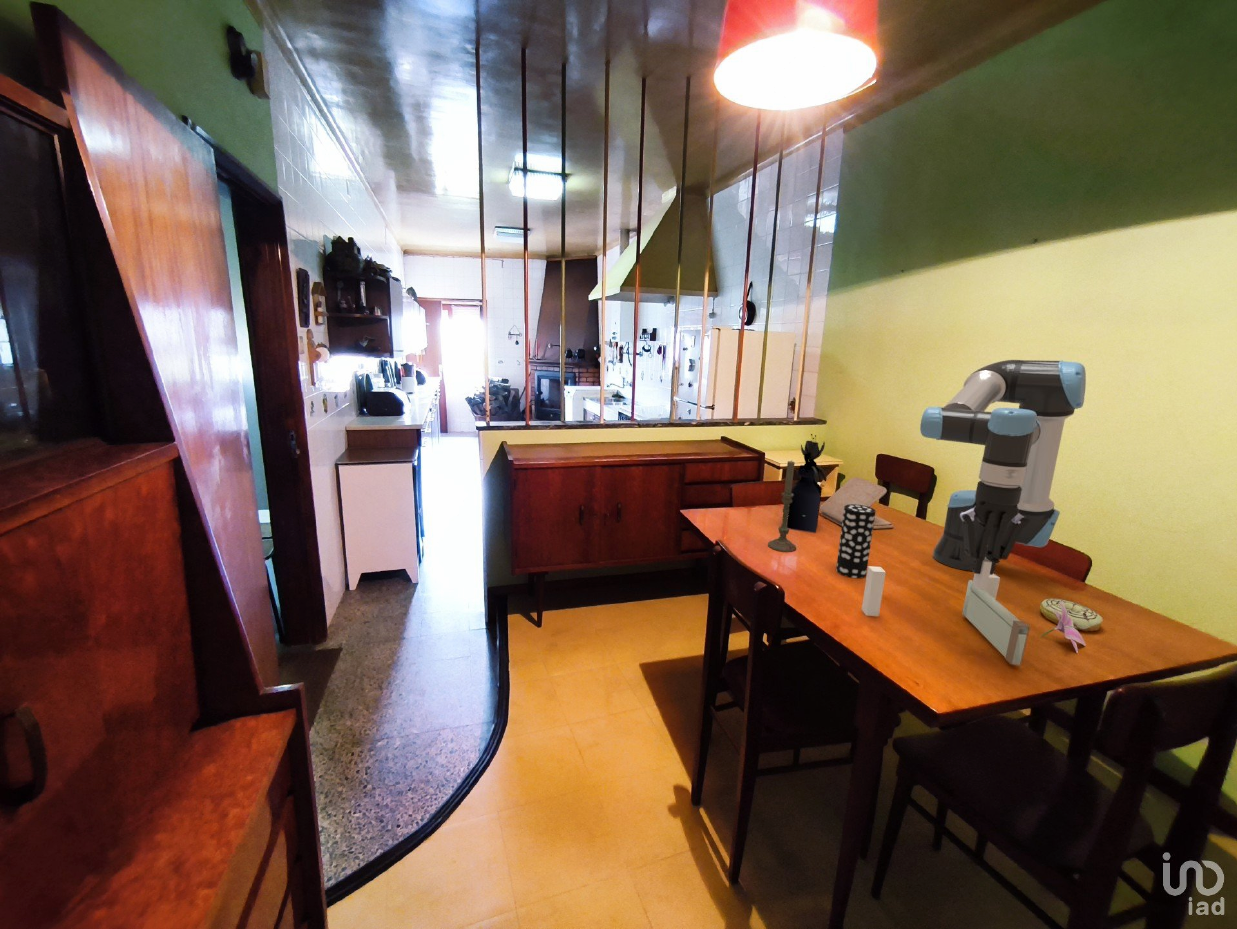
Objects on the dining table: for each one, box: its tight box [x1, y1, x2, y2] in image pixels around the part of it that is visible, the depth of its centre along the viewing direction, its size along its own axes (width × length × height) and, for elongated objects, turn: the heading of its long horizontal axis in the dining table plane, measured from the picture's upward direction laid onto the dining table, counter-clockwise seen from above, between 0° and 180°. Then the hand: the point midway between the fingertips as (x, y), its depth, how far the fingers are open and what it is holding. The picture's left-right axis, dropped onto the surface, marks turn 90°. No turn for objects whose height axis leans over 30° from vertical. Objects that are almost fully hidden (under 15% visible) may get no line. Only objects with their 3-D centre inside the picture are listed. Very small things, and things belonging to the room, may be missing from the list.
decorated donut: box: [1039, 598, 1104, 633], centre depth 129 cm, size 11×12×4 cm
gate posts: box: [861, 565, 1001, 617], centre depth 128 cm, size 30×3×12 cm, turn 86°
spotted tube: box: [835, 504, 877, 579], centre depth 152 cm, size 8×8×20 cm
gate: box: [961, 579, 1031, 666], centre depth 118 cm, size 22×2×9 cm, turn 171°
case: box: [819, 476, 895, 530], centre depth 200 cm, size 20×21×16 cm
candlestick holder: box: [767, 460, 797, 553], centre depth 169 cm, size 9×9×30 cm
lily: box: [1041, 598, 1087, 654], centre depth 118 cm, size 11×11×9 cm
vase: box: [787, 433, 827, 534], centre depth 188 cm, size 14×12×35 cm
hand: (979, 586), depth 112 cm, fingers closed
